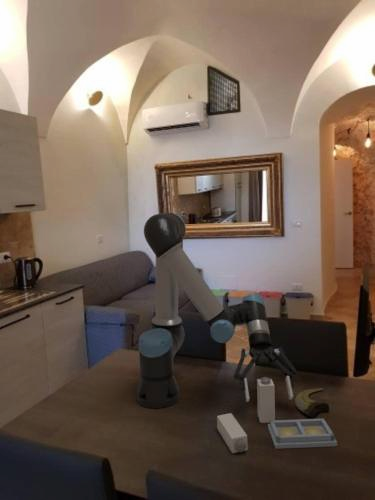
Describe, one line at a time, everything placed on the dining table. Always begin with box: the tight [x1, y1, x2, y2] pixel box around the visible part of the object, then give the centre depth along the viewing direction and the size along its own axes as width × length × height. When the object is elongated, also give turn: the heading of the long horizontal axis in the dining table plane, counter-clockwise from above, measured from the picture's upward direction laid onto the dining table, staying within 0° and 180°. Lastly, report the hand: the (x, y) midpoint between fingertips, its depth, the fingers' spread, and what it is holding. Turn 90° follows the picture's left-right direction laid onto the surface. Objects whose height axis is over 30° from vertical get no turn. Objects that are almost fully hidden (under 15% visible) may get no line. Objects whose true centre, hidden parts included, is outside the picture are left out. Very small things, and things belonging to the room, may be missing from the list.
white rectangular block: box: [216, 412, 249, 454], centre depth 112 cm, size 13×4×4 cm, turn 15°
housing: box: [267, 418, 338, 450], centre depth 112 cm, size 17×10×3 cm, turn 90°
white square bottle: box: [256, 376, 276, 424], centre depth 121 cm, size 4×4×13 cm
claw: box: [294, 387, 330, 419], centre depth 130 cm, size 20×10×3 cm, turn 169°
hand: (269, 399), depth 121 cm, fingers open, 13 cm apart
